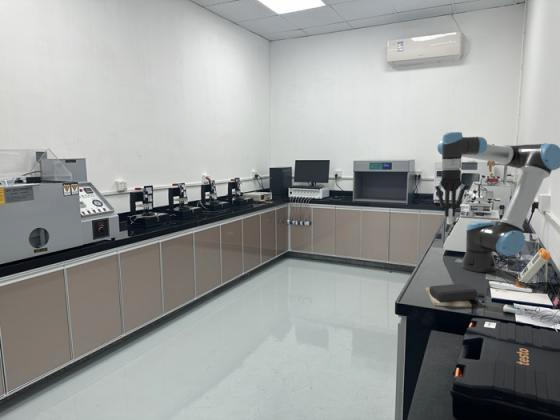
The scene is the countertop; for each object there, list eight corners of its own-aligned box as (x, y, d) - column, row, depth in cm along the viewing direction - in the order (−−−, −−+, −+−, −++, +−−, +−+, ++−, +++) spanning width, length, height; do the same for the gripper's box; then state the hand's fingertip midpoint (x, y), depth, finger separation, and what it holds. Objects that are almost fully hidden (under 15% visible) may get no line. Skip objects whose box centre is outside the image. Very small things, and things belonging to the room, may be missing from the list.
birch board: (458, 290, 161) (458, 288, 160) (471, 307, 143) (471, 304, 143) (425, 289, 163) (425, 287, 163) (434, 305, 145) (434, 303, 145)
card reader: (464, 292, 156) (428, 295, 154) (464, 282, 155) (428, 285, 154) (478, 300, 146) (440, 303, 145) (478, 290, 146) (440, 293, 145)
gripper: (436, 169, 162) (435, 225, 165) (470, 169, 159) (468, 225, 162) (433, 169, 169) (431, 222, 172) (465, 168, 166) (463, 222, 170)
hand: (449, 223), depth 167 cm, fingers closed
